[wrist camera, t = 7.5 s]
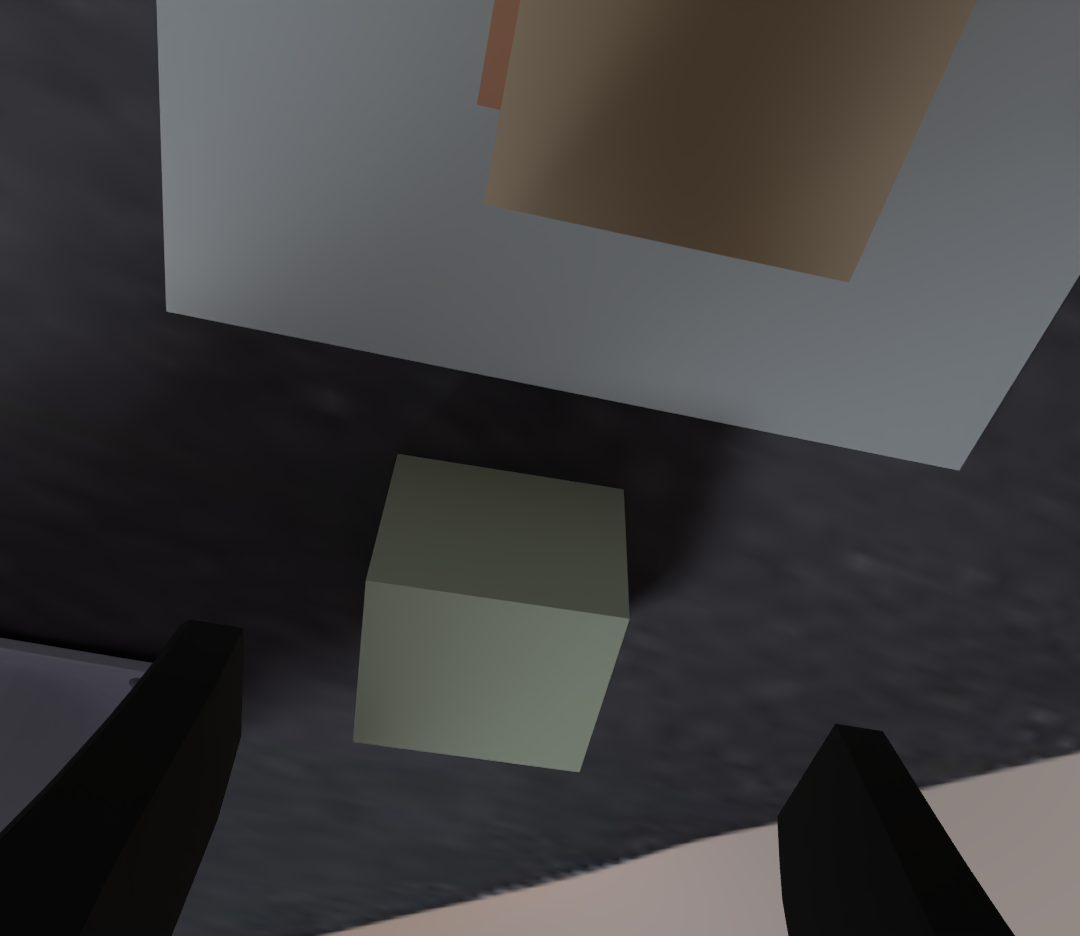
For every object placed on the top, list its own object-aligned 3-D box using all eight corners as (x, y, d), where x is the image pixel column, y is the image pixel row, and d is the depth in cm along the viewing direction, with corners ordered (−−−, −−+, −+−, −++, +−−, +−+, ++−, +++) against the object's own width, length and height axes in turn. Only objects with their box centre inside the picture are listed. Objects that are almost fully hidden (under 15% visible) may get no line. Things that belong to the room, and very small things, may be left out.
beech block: (504, 103, 16) (483, 204, 13) (575, -278, 13) (569, -268, 10) (799, 169, 16) (849, 282, 13) (935, -183, 13) (1041, -144, 10)
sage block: (383, 607, 24) (352, 741, 21) (398, 450, 21) (365, 580, 18) (580, 635, 25) (579, 772, 22) (623, 485, 22) (629, 618, 19)
